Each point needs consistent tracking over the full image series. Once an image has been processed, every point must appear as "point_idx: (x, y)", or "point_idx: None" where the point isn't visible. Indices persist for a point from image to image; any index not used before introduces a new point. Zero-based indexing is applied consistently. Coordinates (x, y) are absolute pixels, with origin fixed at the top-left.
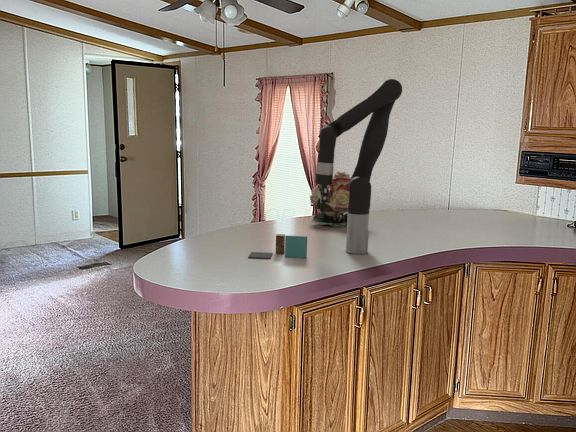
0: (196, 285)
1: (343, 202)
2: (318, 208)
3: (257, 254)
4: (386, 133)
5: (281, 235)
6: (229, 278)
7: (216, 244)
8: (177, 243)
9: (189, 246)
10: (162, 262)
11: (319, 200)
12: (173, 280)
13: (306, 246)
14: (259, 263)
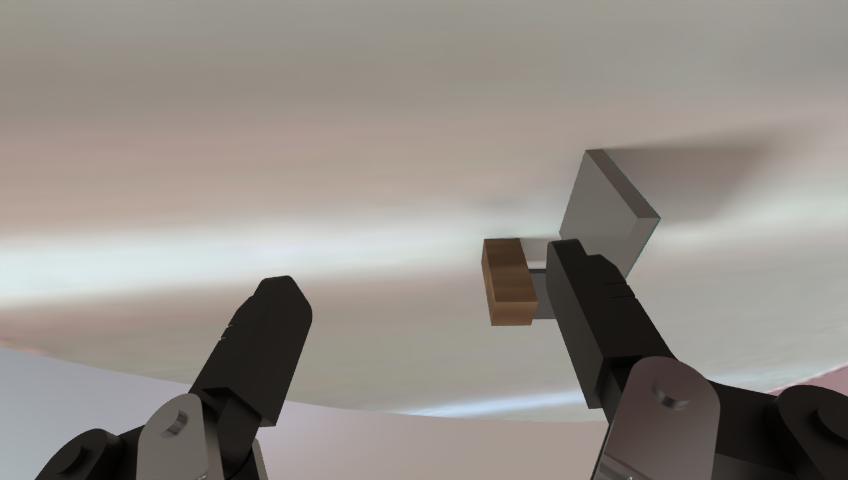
0: (831, 355)
1: None
2: (305, 308)
3: (547, 304)
4: None
5: (530, 310)
6: (808, 321)
7: (407, 376)
8: (420, 414)
9: (444, 401)
10: None
11: (253, 421)
12: (759, 381)
13: (627, 184)
14: (656, 287)
